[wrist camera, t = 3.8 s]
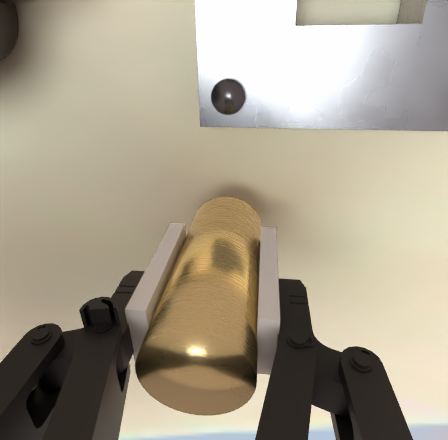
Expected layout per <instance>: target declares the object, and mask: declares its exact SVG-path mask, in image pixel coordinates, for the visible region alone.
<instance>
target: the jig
mask: <svg viewBox="0 0 448 440" xmlns="http://www.w3.org/2000/svg"><path fill="white" fill-rule="evenodd" d="M296 6H297V0H195V13H196V36H197V60H198V83H199V106H200V127H252V128H306V129H359V130H412V131H448V0H401V5H400V10H399V15H398V21H397V24H379V25H326V26H295V20H296Z"/></svg>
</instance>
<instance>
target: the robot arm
mask: <svg viewBox="0 0 448 440" xmlns="http://www.w3.org/2000/svg"><path fill="white" fill-rule="evenodd" d="M185 239H186V230H185V223H170V225H169V227H168V229H167V231H166V233H165V234H164V236H163V238H162V240H161V242H160V244H159V246H158V248H157V250H156V252H155V253H154V255H153V257H152V259H151V261H150V263H149V265H148V267H147V269H146V270H145V271H131V272H130V273H129V274H127V275H126V276H125V277H124V278H123V279H122V281H121V282H120V284H119V287H117V289H116V291H115V293H114V294H113V296H112V297H111V298H109V297H99V298H94V299H92V300H90V301H88V302H87V303H85V304H84V305H83V306H82V307H81V309H80V310H79V311H80V314H81V318H82V322H83V325H84V328H81V329H77V330H71V331H66V332H62V330H61V328H60V327H59V326H58V325H56V324H53V323H52V324H43V325H39V326H37V327H35V328H33V329H31V330H30V331H29V332H28V333H26V334H25V335H24V336H23V338H22V339H21V340H20V341H19V342H18V343H17V345H16V346H15V347H14V348H13V349H12V350H11V351H10V353H9V354H8V355H7V356H6V357H5V358H4V359H3V361H2V362H1V363H0V440H118V437H119V432H120V426H121V421H122V415H123V410H124V404H125V398H126V393H127V387H128V382H129V376H130V365H129V361H130V359H131V357H132V354H133V355H134V360H135V362H136V358H137V355H138V353H139V350H140V348H141V345H142V343H143V340H144V338H145V336H146V333H147V331H148V328H149V326H150V323H151V321H152V319H153V316H154V314H155V311H156V309H157V307H158V304H159V302H160V299H161V297H162V294H163V292H164V290H165V287H166V285H167V282H168V280H169V278H170V275H171V273H172V270H173V268H174V265H175V263H176V261H177V258H178V256H179V253H180V251H181V248H182V246H183V244H184V241H185ZM257 343H258V355H257V373H259V374H270V379H269V383H268V387H267V391H266V396H265V400H264V404H263V409H262V413H261V417H260V421H259V426H258V430H257V434H256V438H255V440H308V433H309V423H310V413H311V404H312V405H314V406H316V407H319V408H321V409H324V410H326V411H329V412H330V413H331V418H332V423H333V428H334V433H335V437H336V440H413V438H412V436H411V433H410V431H409V428H408V426H407V423H406V421H405V418H404V416H403V413H402V411H401V408H400V406H399V403H398V401H397V398H396V396H395V393H394V391H393V388H392V386H391V383H390V381H389V378H388V376H387V373H386V371H385V368H384V366H383V363H382V362H381V360H380V359H379V357H378V356H377V355H375V354H374V353H373V352H372V351H370V350H367V349H365V348H362V347H357V346H355V347H348V348H347V349H345V350H343V352H339V351H336V350H333V349H331V348H328V347H326V346H324V345H323V344H321V343H320V342H319V341H318V340H317V339H316V337H315V336H314V334H313V331H312V325H311V318H310V312H309V305H308V298H307V292H306V287H305V286H304V285H303V283H302V282H301V281H300V280H293V279H278V258H277V235H276V227H262V226H261V241H260V268H259V295H258V322H257Z"/></svg>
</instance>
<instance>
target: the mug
mask: <svg viewBox="0 0 448 440" xmlns="http://www.w3.org/2000/svg"><path fill="white" fill-rule="evenodd" d="M16 1H19V0H0V60H2V59H4V58H5V57H6V56H7V55H8V54H9V53H10V52H11V50H12V48H13V47H14V45H15V42H16V39H17V34H18V18H17V11H16V8H15V4H14V2H16Z"/></svg>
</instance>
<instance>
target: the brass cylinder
mask: <svg viewBox="0 0 448 440" xmlns="http://www.w3.org/2000/svg"><path fill="white" fill-rule="evenodd" d="M261 226H262V225H261V221H260V218H259V216H258V214H257V212H256V211H255V210H254V209H253V207H251V206H250V205H249V204H248V203H246V202H245V201H242V200H240V199H237V198H234V197H217V198H214V199H211V200H209V201H207V202H206V203H204V204H203V205H202V206H201V207H200V208H199V209H198V211H197V213H196V215H195V217H194V219H193V222H192V224H191V227H190V229H189V232H188V234H187V236H186V239H185V241H184V244H183V246H182V248H181V251H180V253H179V256H178V258H177V261H176V263H175V265H174V268H173V270H172V273H171V275H170V278H169V280H168V282H167V285H166V287H165V290H164V292H163V294H162V297H161V299H160V302H159V304H158V307H157V309H156V311H155V314H154V316H153V319H152V321H151V323H150V326H149V328H148V331H147V333H146V336H145V338H144V340H143V343H142V345H141V348H140V350H139V353H138V355H137V358H136V362H135V370H136V374H137V377H138V380H139V382H140V383H141V385H142V386H143V388H144V389H145V390H146V391H147V392H148V393H149V394H150V395H151V396H152V397H153V398H155V399H156V400H157V401H159V402H161V403H162V404H164V405H166V406H168V407H170V408H173V409H175V410H178V411H181V412H185V413H189V414H195V415H219V414H224V413H228V412H231V411H234V410H236V409H238V408H240V407H241V406H243V405H244V404H245V403H247V402H248V401H249V400H250V398H251V397H252V395H253V394H254V392H255V389H256V383H257V355H258V343H257V322H258V295H259V268H260V241H261Z"/></svg>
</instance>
